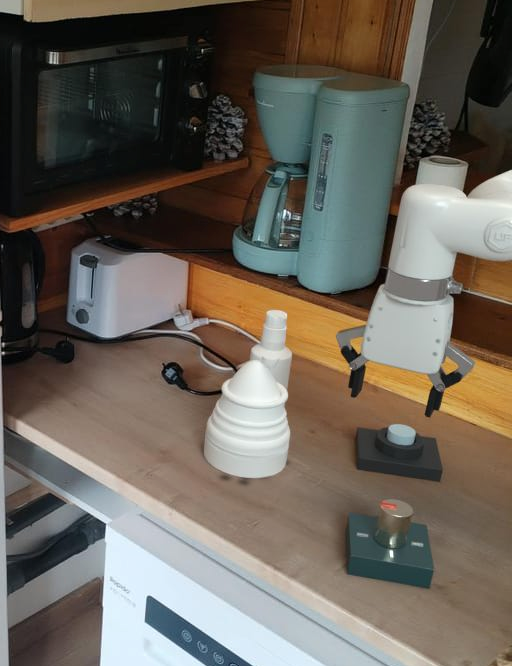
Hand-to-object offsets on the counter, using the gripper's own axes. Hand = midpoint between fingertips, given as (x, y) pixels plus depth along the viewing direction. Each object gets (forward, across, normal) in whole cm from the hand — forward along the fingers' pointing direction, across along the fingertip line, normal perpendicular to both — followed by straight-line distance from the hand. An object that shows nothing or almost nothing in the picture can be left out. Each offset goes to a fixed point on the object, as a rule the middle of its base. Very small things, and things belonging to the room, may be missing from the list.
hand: (391, 403), depth 122 cm
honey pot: (+18, +21, -5) cm, 28 cm away
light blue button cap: (+14, 0, -17) cm, 22 cm away
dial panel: (+18, -5, +10) cm, 21 cm away
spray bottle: (+18, +24, -22) cm, 37 cm away
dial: (+15, -5, +10) cm, 18 cm away
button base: (+18, 0, -17) cm, 25 cm away
